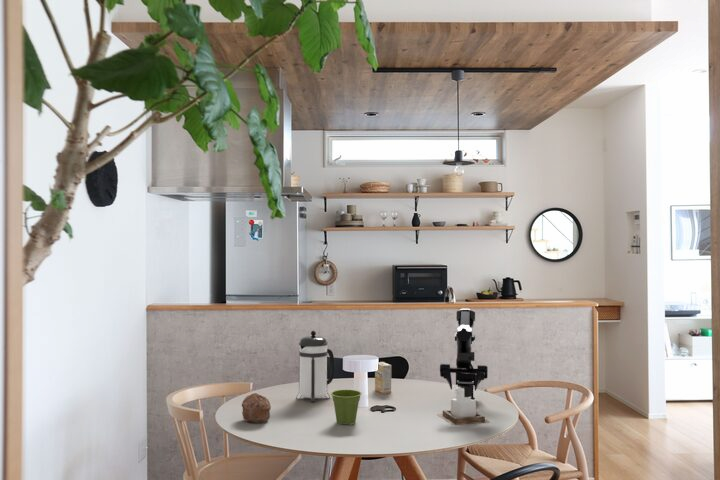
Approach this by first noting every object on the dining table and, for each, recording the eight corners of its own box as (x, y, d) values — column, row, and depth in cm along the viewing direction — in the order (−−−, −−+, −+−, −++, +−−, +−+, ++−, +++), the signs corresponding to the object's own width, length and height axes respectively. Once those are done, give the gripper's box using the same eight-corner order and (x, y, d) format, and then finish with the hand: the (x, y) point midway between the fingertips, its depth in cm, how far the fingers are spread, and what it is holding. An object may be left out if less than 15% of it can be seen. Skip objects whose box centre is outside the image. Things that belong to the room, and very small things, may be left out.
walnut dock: (473, 413, 257) (473, 407, 257) (491, 424, 242) (491, 417, 242) (436, 416, 253) (436, 409, 253) (452, 427, 238) (452, 420, 238)
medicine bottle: (464, 414, 252) (464, 384, 253) (476, 418, 246) (476, 388, 247) (450, 417, 249) (450, 386, 249) (462, 421, 243) (462, 390, 243)
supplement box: (374, 390, 295) (374, 362, 295) (383, 389, 297) (383, 361, 297) (382, 394, 288) (382, 365, 288) (391, 393, 290) (391, 364, 290)
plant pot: (324, 424, 239) (324, 394, 239) (340, 416, 249) (340, 388, 249) (352, 428, 233) (352, 397, 233) (367, 420, 244) (367, 391, 244)
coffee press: (331, 403, 271) (331, 333, 271) (294, 402, 271) (294, 333, 271) (333, 393, 288) (334, 328, 288) (298, 393, 288) (299, 327, 289)
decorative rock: (239, 417, 248) (239, 392, 248) (267, 414, 252) (267, 389, 252) (245, 426, 236) (245, 399, 236) (274, 423, 240) (274, 397, 240)
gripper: (440, 343, 253) (438, 376, 242) (487, 345, 250) (487, 378, 239) (441, 359, 261) (439, 392, 250) (487, 361, 257) (487, 394, 247)
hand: (463, 389), depth 246 cm, fingers open, 9 cm apart
